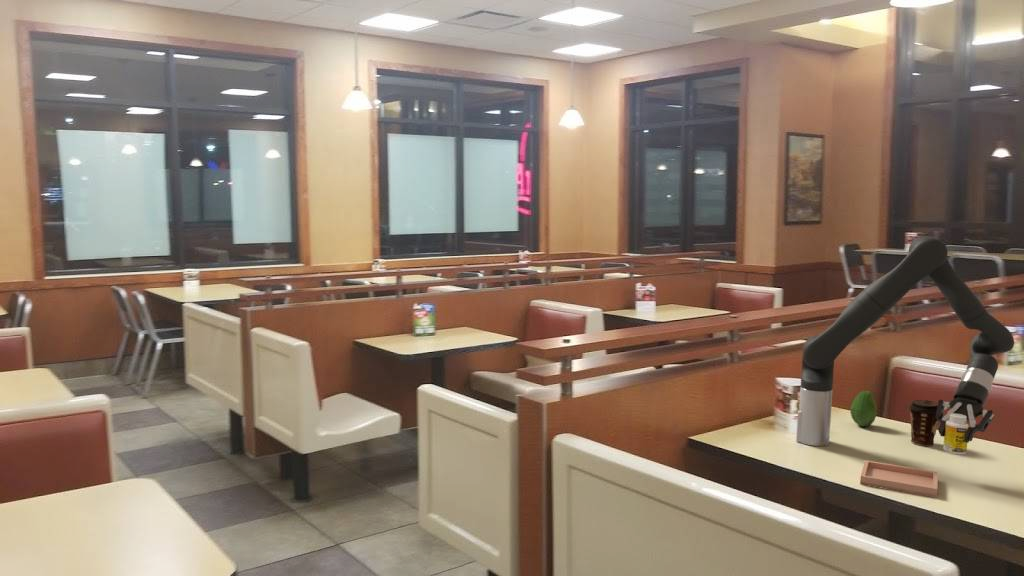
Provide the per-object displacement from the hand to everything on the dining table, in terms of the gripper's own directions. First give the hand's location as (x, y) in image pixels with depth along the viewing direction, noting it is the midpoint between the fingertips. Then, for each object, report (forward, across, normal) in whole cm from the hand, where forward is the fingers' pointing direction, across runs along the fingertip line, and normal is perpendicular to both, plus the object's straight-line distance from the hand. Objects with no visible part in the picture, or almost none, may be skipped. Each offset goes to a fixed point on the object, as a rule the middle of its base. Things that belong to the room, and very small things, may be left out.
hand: (953, 437), depth 208 cm
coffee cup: (-10, -17, +27) cm, 34 cm away
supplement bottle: (+2, 0, +4) cm, 5 cm away
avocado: (-12, -37, +30) cm, 49 cm away
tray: (+18, -8, -1) cm, 19 cm away
